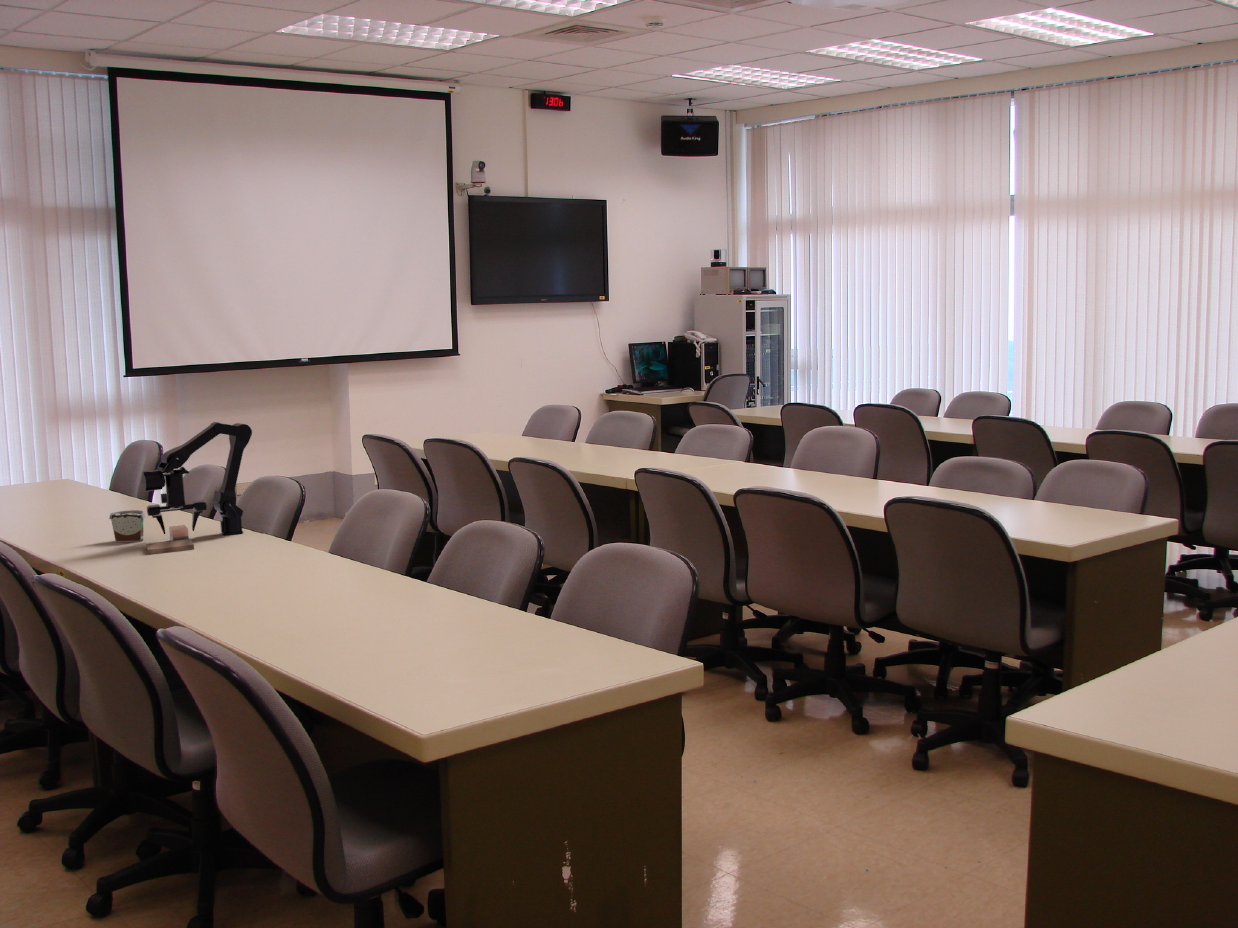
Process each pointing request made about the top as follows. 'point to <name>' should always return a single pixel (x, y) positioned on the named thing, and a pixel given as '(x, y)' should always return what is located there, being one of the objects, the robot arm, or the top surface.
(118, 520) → the food container
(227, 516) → the robot arm
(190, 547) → the walnut stand
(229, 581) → the top surface
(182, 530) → the block
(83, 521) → the top surface
